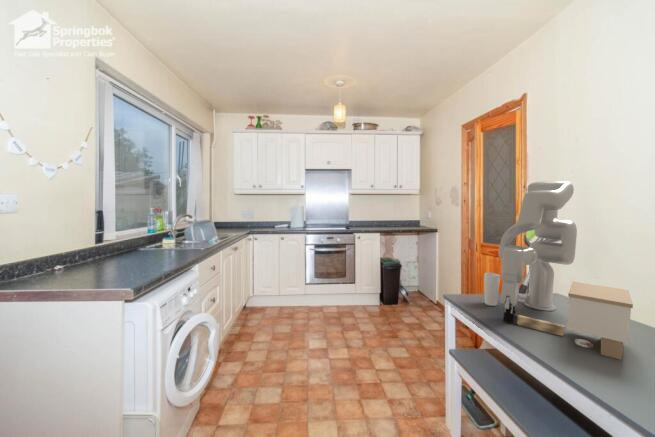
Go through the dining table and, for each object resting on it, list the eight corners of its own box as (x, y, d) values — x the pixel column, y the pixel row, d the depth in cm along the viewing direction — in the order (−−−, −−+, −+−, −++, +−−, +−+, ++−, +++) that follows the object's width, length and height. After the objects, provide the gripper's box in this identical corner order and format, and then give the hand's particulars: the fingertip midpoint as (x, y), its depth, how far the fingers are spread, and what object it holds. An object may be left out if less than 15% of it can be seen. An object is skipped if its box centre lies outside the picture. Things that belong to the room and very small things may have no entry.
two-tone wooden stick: (503, 321, 127) (503, 312, 127) (504, 319, 128) (505, 311, 128) (563, 336, 113) (563, 326, 113) (563, 334, 115) (564, 325, 115)
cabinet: (564, 347, 105) (568, 293, 103) (569, 328, 120) (572, 281, 119) (627, 364, 94) (632, 304, 93) (624, 341, 109) (628, 290, 108)
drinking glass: (480, 304, 147) (482, 274, 146) (485, 301, 152) (486, 271, 151) (496, 308, 142) (498, 276, 141) (500, 304, 147) (501, 274, 146)
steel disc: (574, 345, 107) (574, 342, 107) (575, 340, 110) (575, 337, 110) (592, 350, 103) (593, 347, 103) (593, 345, 107) (593, 342, 107)
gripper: (506, 272, 134) (504, 312, 135) (496, 279, 121) (494, 323, 123) (526, 275, 129) (523, 317, 130) (518, 283, 116) (515, 329, 118)
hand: (509, 320), depth 126 cm, fingers open, 3 cm apart
